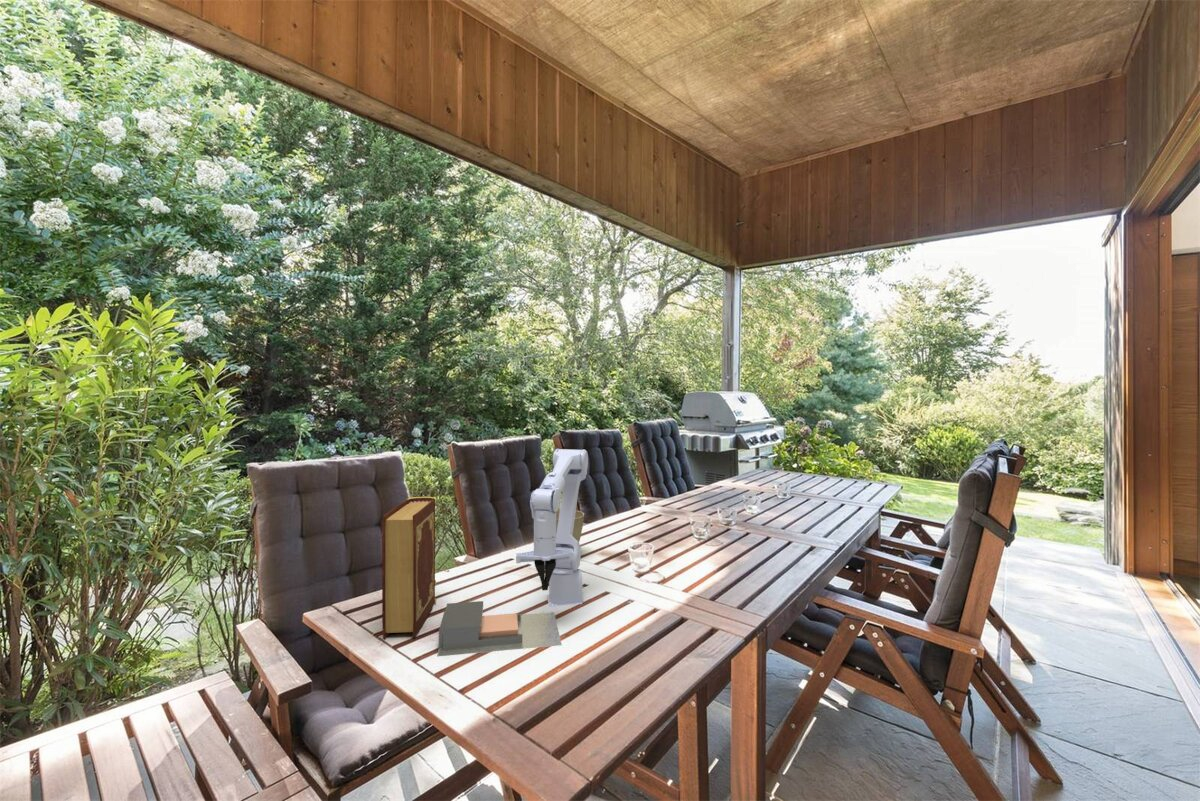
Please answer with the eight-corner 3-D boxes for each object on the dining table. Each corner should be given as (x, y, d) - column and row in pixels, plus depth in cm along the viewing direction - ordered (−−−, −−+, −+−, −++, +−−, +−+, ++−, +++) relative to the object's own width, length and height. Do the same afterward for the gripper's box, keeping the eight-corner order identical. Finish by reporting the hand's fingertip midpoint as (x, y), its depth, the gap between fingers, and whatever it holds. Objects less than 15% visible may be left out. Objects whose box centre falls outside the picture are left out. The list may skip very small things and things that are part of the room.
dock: (554, 614, 134) (554, 592, 134) (561, 647, 117) (561, 622, 117) (445, 622, 129) (445, 600, 129) (436, 659, 111) (436, 633, 111)
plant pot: (543, 552, 188) (543, 509, 187) (582, 551, 189) (582, 509, 189) (542, 565, 173) (543, 519, 173) (585, 564, 174) (585, 518, 174)
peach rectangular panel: (516, 622, 128) (516, 613, 128) (518, 639, 119) (518, 629, 119) (452, 628, 125) (452, 618, 125) (448, 645, 116) (448, 635, 116)
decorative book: (409, 601, 142) (409, 496, 142) (437, 601, 143) (437, 496, 142) (381, 640, 120) (381, 515, 119) (415, 639, 120) (415, 515, 120)
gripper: (516, 541, 122) (516, 597, 122) (575, 538, 125) (575, 592, 125) (515, 534, 129) (515, 586, 129) (571, 531, 132) (571, 582, 132)
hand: (544, 588), depth 128 cm, fingers closed
